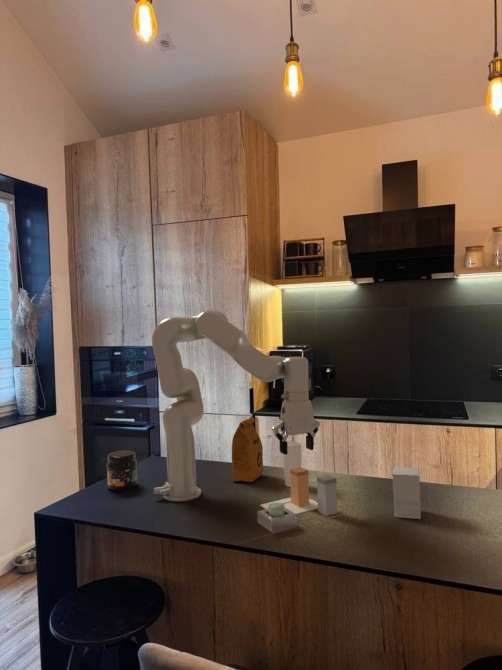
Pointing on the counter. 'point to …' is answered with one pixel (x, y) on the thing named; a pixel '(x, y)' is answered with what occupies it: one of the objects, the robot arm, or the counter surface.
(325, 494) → the grey rectangular prism
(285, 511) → the button collar
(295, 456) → the drinking glass
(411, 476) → the supplement box
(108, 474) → the supplement container
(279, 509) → the button
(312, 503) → the sketch pad
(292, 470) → the brown box
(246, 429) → the coffee package
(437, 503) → the counter surface
